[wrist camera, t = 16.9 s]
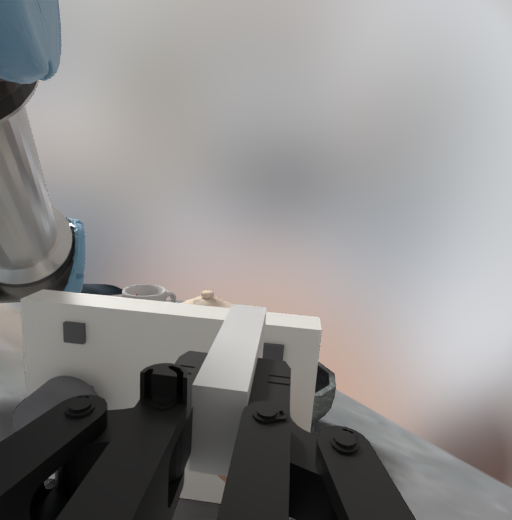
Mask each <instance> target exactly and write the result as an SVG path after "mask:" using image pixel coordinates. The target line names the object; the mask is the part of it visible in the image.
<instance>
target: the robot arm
mask: <svg viewBox="0 0 512 520" xmlns="http://www.w3.org/2000/svg"><path fill="white" fill-rule="evenodd" d="M60 26H61V25H60V13H59V4H58V0H0V303H9V302H20V299H21V298H24V297H26V296H28V295H31V294H33V293H35V292H38V291H40V290H43V289H44V290H54V291H64V292H74V293H80V292H81V290H82V286H83V279H84V274H83V272H84V267H85V229H84V226H83V223H82V222H81V221H80V220H76V219H71V218H65V217H64V215H63V214H62V213H61V212H60V211H59V210H58V209H56V208H55V207H54V206H52V205H51V203H50V199H49V196H48V192H47V188H46V184H45V181H44V177H43V173H42V169H41V165H40V161H39V158H38V154H37V150H36V146H35V142H34V139H33V135H32V132H31V127H30V124H29V120H28V116H27V113H26V108H25V105H26V104H27V103H28V102H29V100H30V99H31V97H32V96H33V94H34V92H35V90H36V88H37V85H38V82H39V80H43V81H44V80H47V79H50V78H51V77H52V76H54V74H55V73H56V72H57V69H58V67H59V63H60V55H61V27H60ZM266 310H267V308H266V307H256V306H248V305H238V304H232V306H231V308H230V310H229V312H228V314H227V316H226V318H225V320H224V322H223V324H222V326H221V328H220V330H219V332H218V334H217V336H216V338H215V340H214V342H213V344H212V346H211V348H210V350H209V352H208V353H205V352H197V351H188V352H186V353H184V354H183V355H181V356H179V358H178V359H177V361H176V362H175V364H173V363H159V364H154V365H151V366H148V367H146V368H144V369H143V370H142V371H141V372H140V400H139V401H138V402H137V404H136V405H135V407H133V408H127V409H117V410H107V402H106V401H105V399H103V398H102V397H100V396H96V395H90V394H89V395H78V396H75V397H71V398H68V399H66V400H64V401H62V402H60V403H59V404H57V405H56V406H54V407H53V408H51V409H50V410H48V411H47V412H45V413H44V414H42V415H41V416H39V417H38V418H36V419H35V420H33V421H32V422H30V423H29V424H27V425H26V426H24V427H23V428H21V429H20V430H18V431H17V432H15V433H14V434H12V435H10V436H9V437H7V438H6V439H4V440H3V441H1V442H0V520H171V519H172V517H173V514H174V511H175V508H176V505H177V503H178V500H179V497H180V494H181V492H182V489H183V486H184V474H185V467H186V464H187V461H188V459H189V471H193V472H200V473H206V474H213V475H220V476H227V479H226V483H225V487H224V492H223V496H222V500H221V504H220V509H219V513H218V517H217V520H288V518H289V517H292V518H294V519H296V520H416V519H415V517H414V515H413V514H412V512H411V510H410V509H409V507H408V506H407V504H406V502H405V501H404V499H403V497H402V496H401V494H400V492H399V491H398V489H397V487H396V486H395V484H394V482H393V481H392V479H391V477H390V476H389V474H388V472H387V471H386V469H385V467H384V466H383V464H382V462H381V461H380V459H379V457H378V456H377V454H376V452H375V451H374V449H373V448H372V446H371V444H370V443H369V441H368V440H367V439H366V438H365V437H364V436H363V435H362V434H360V433H358V432H357V431H355V430H353V429H350V428H347V427H342V426H331V427H326V428H324V429H323V430H321V431H320V432H319V434H318V435H315V434H312V433H310V432H308V431H306V430H303V429H302V428H300V427H299V426H298V425H297V424H296V423H295V422H294V421H293V420H292V418H291V416H290V387H291V386H290V385H291V368H290V367H289V365H288V364H287V363H286V361H281V360H273V359H264V358H262V357H263V345H264V333H265V322H266ZM54 473H55V479H54V480H53V481H51V482H50V483H49V484H47V485H46V486H44V481H45V480H47V479H48V478H49V477H50V476H51V475H52V474H54Z"/></svg>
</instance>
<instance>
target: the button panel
mask: <svg viewBox="0 0 512 520" xmlns="http://www.w3.org/2000/svg"><path fill="white" fill-rule="evenodd" d="M20 303H21V318H22V333H23V348H24V363H25V378H26V394H27V397H28V396H29V395H31V394H32V393H33V392H34V391H36V390H37V389H38V388H39V387H41V386H42V385H43V384H44V383H46V382H47V381H48V380H50V379H52V378H54V377H57V376H72V377H76V378H78V379H81V380H83V381H84V382H86V383H87V384H89V385H91V386H94V390H95V392H96V393H97V395H98V396H100V397H102V398H103V399H105V401H106V402H107V410H117V409H127V408H133V407H135V405H136V404H137V402H138V401H139V400H140V372H141V371H142V370H143V369H144V368H146V367H148V366H151V365H154V364H159V363H173V364H175V362H176V361H177V359H178V358H179V356H181V355H183V354H184V353H186V352H188V351H197V352H205V353H208V352H209V350H210V348H211V346H212V344H213V342H214V340H215V338H216V336H217V334H218V332H219V330H220V328H221V326H222V324H223V322H224V320H225V318H226V316H227V314H228V312H229V310H230V308H223V307H213V306H203V305H193V304H183V303H173V302H163V301H154V300H144V299H134V298H124V297H114V296H104V295H94V294H84V293H74V292H64V291H54V290H44V289H43V290H40V291H38V292H35V293H33V294H31V295H28V296H26V297H24V298H21V299H20ZM321 331H322V329H321V323H320V318H319V317H312V316H302V315H292V314H282V313H272V312H266V322H265V333H264V345H263V357H262V358H264V359H273V360H281V361H286V363H287V364H288V365H289V367H290V368H291V385H290V386H291V387H290V416H291V418H292V420H293V421H294V422H295V423H296V424H297V425H298V426H299V427H300V428H302V429H303V430H306V431H308V432H310V430H311V421H312V412H313V404H314V395H315V386H316V377H317V368H318V359H319V350H320V341H321ZM49 479H55V473H54V474H52V475H51V476H50V477H49ZM225 483H226V482H224V481H223V480H222V479H221V478H219V477H218V476H217V475H213V474H206V473H200V472H193V471H189V459H188V461H187V464H186V467H185V474H184V486H183V489H182V492H181V494H180V497H179V498H185V499H192V500H198V501H205V502H212V503H219V504H221V500H222V496H223V492H224V487H225Z"/></svg>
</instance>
